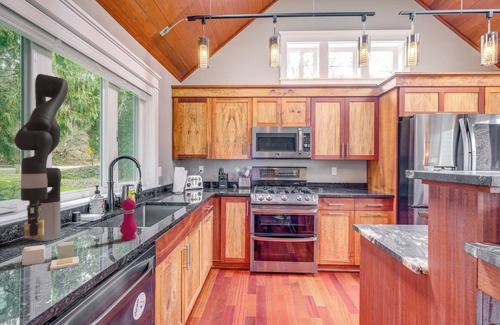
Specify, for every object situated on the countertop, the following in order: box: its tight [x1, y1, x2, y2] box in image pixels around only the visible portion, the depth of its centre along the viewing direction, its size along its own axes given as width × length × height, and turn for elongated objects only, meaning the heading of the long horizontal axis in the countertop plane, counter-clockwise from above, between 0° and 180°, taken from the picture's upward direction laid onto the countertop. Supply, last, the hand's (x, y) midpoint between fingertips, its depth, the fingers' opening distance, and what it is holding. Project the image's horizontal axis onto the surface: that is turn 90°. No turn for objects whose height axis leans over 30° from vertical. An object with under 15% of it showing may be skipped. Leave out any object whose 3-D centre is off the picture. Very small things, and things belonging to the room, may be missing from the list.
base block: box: [21, 244, 46, 266], centre depth 98 cm, size 6×6×5 cm
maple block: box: [24, 220, 44, 239], centre depth 98 cm, size 5×5×5 cm
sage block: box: [57, 240, 75, 260], centre depth 103 cm, size 5×5×5 cm
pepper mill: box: [119, 195, 138, 242], centre depth 127 cm, size 7×7×20 cm
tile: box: [49, 255, 80, 271], centre depth 95 cm, size 8×8×1 cm
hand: (34, 233), depth 98 cm, fingers closed on maple block, 5 cm apart
